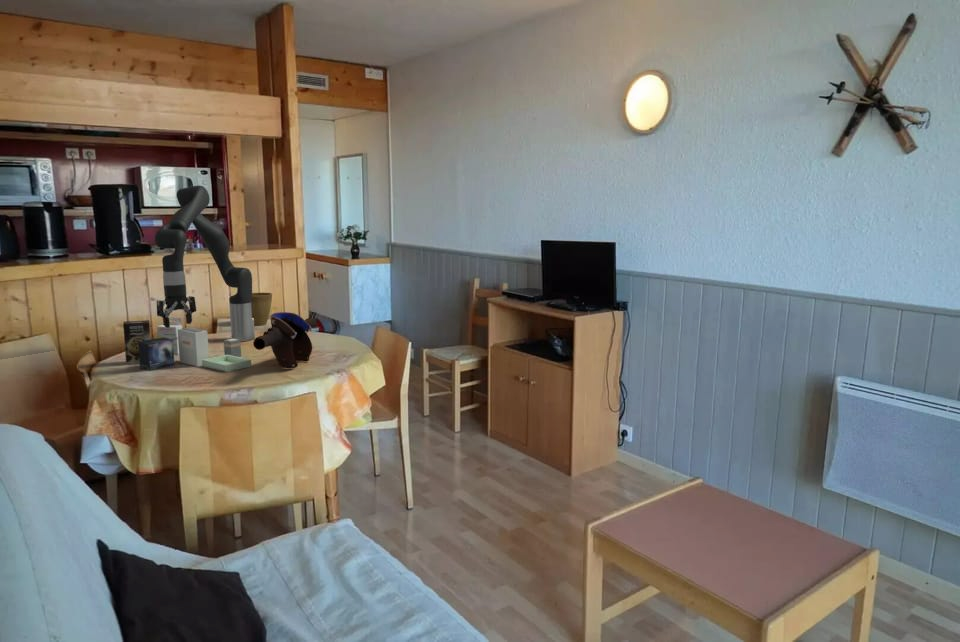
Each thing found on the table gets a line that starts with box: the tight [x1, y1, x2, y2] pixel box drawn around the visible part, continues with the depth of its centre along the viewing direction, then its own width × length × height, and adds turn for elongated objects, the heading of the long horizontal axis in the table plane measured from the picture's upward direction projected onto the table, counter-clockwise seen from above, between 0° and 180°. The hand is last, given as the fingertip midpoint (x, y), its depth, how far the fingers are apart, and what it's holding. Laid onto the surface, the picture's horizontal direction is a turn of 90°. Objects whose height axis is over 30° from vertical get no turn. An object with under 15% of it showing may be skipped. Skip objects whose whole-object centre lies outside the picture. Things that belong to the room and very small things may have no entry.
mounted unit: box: [177, 327, 210, 367], centre depth 248 cm, size 6×12×13 cm, turn 56°
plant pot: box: [251, 292, 273, 327], centre depth 330 cm, size 15×15×16 cm
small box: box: [138, 337, 176, 372], centre depth 241 cm, size 11×6×10 cm, turn 148°
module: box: [223, 338, 242, 358], centre depth 259 cm, size 5×5×7 cm
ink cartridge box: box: [156, 317, 183, 356], centre depth 263 cm, size 9×5×15 cm, turn 84°
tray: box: [201, 354, 252, 373], centre depth 244 cm, size 11×15×3 cm
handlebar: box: [252, 311, 318, 369], centre depth 246 cm, size 45×13×20 cm, turn 170°
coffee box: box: [122, 320, 151, 365], centre depth 248 cm, size 9×6×16 cm
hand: (178, 325), depth 241 cm, fingers open, 8 cm apart
